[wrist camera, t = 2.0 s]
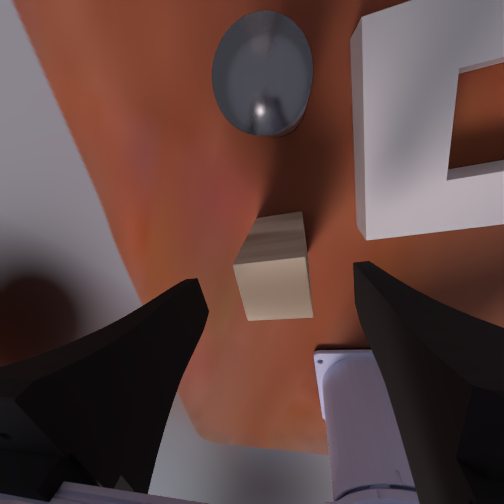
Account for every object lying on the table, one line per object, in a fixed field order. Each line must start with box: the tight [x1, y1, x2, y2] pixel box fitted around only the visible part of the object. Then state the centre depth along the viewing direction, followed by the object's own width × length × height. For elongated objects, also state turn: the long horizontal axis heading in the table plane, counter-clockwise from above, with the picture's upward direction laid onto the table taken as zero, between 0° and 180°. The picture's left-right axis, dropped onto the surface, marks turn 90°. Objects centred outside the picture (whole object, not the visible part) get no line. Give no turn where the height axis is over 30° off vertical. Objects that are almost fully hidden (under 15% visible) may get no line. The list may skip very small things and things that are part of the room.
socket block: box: [350, 0, 504, 240], centre depth 11 cm, size 10×12×2 cm
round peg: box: [212, 10, 313, 137], centre depth 11 cm, size 3×3×7 cm
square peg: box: [233, 211, 313, 321], centre depth 14 cm, size 3×3×7 cm
